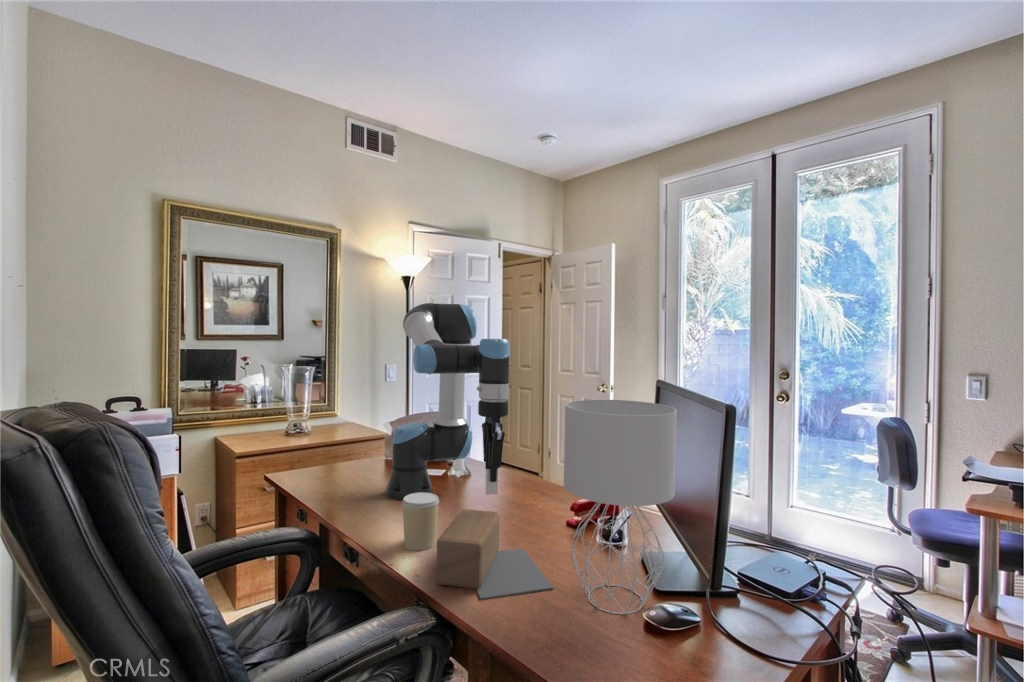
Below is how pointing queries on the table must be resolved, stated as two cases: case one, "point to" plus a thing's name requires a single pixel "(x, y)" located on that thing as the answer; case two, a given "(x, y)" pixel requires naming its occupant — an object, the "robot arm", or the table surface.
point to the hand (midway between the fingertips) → (491, 493)
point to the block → (467, 548)
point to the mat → (512, 576)
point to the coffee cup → (420, 520)
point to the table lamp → (619, 469)
